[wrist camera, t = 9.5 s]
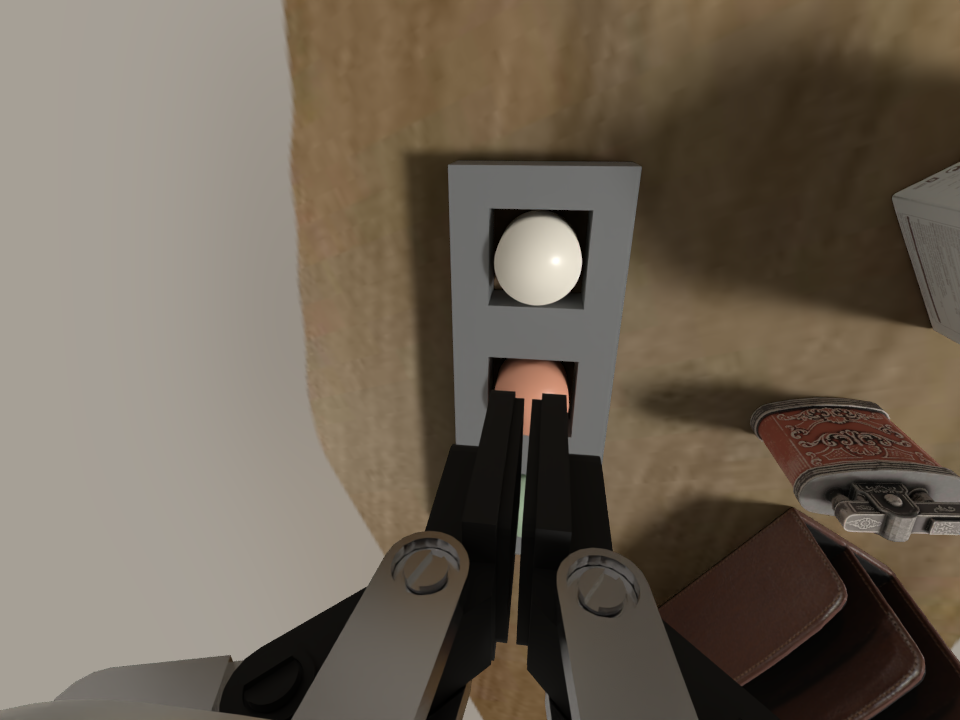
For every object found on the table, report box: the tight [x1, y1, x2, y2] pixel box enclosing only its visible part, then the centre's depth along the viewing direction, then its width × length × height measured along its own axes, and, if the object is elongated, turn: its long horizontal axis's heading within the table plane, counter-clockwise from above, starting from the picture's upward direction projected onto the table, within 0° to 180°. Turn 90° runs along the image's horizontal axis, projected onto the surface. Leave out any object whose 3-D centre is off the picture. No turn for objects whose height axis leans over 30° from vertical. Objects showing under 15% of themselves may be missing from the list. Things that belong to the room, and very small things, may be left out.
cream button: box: [494, 210, 582, 305], centre depth 28 cm, size 5×5×3 cm
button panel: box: [448, 160, 642, 555], centre depth 33 cm, size 28×10×3 cm, turn 0°
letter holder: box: [658, 507, 960, 720], centre depth 35 cm, size 10×20×14 cm, turn 149°
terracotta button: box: [495, 358, 569, 436], centre depth 32 cm, size 5×5×3 cm
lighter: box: [750, 398, 960, 542], centre depth 29 cm, size 8×3×10 cm, turn 96°
